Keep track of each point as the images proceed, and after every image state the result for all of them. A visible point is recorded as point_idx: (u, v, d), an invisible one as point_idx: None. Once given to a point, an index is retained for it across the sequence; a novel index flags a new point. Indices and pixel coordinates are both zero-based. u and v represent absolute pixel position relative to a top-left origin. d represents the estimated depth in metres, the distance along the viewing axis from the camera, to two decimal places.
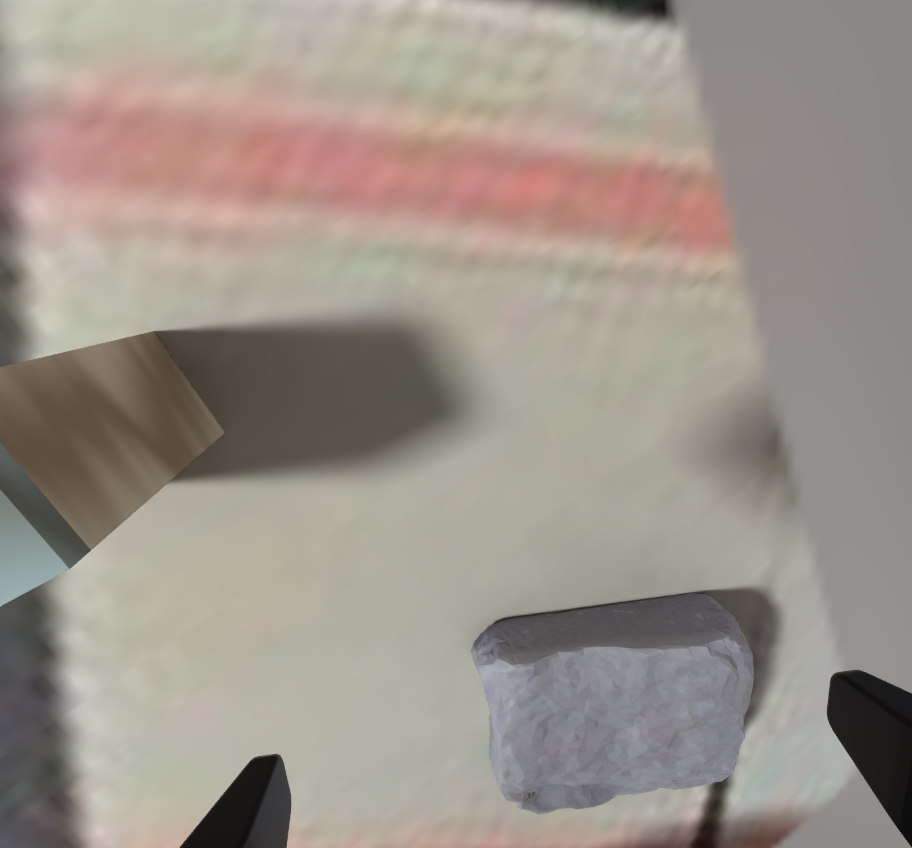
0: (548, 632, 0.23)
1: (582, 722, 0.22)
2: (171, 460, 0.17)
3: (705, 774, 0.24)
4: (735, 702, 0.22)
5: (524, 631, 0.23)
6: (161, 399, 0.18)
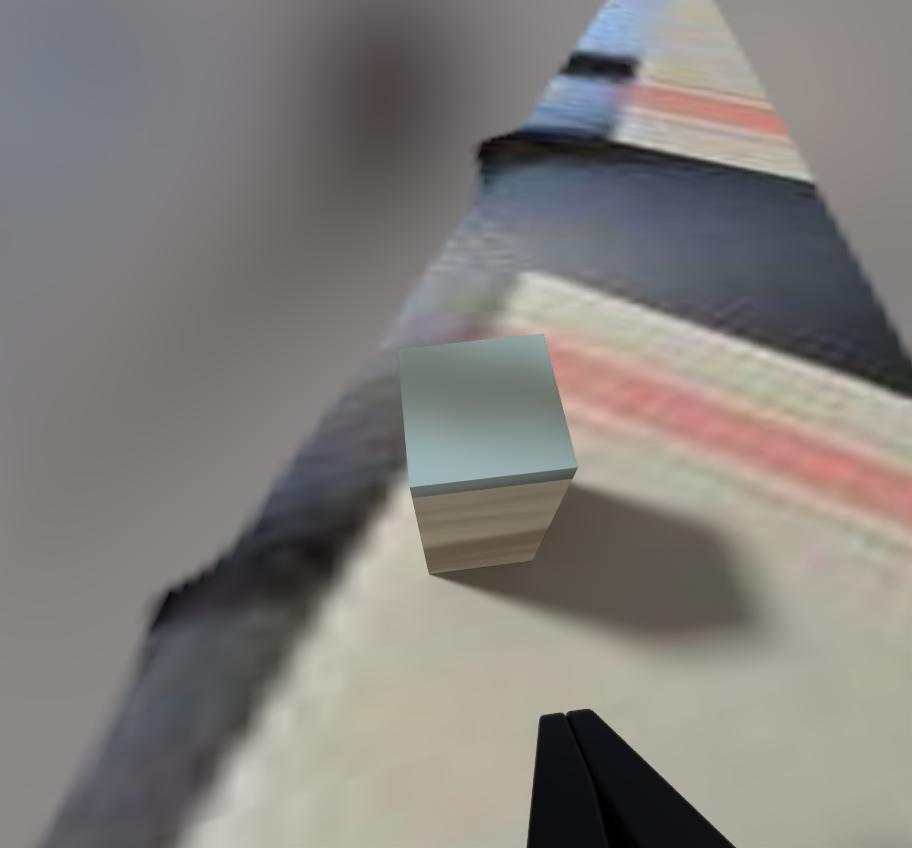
0: None
1: None
2: None
3: None
4: None
5: None
6: None
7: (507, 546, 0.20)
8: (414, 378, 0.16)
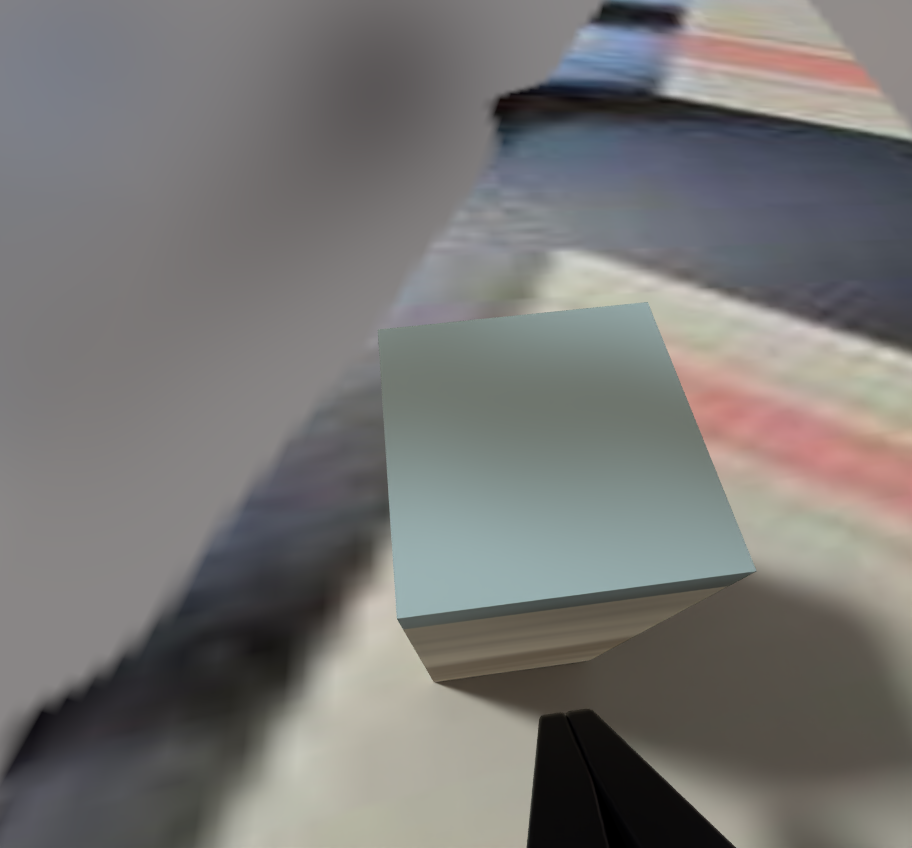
0: None
1: None
2: None
3: None
4: None
5: None
6: None
7: (560, 654, 0.13)
8: (409, 383, 0.08)
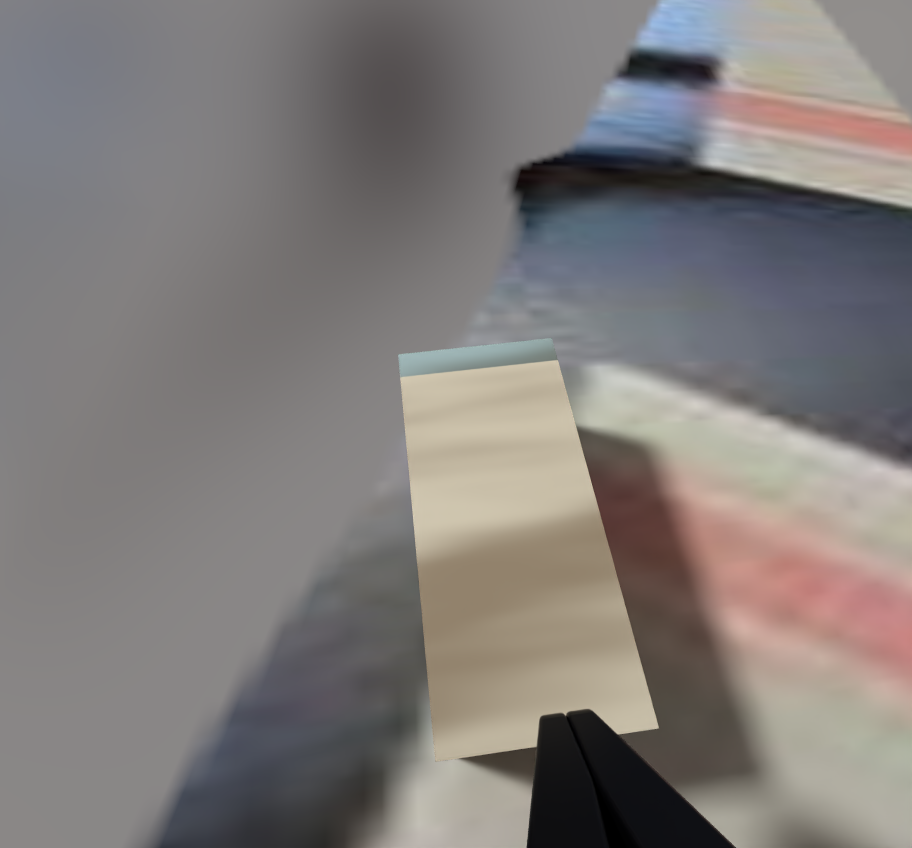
0: None
1: None
2: None
3: None
4: None
5: None
6: None
7: (561, 591, 0.12)
8: None
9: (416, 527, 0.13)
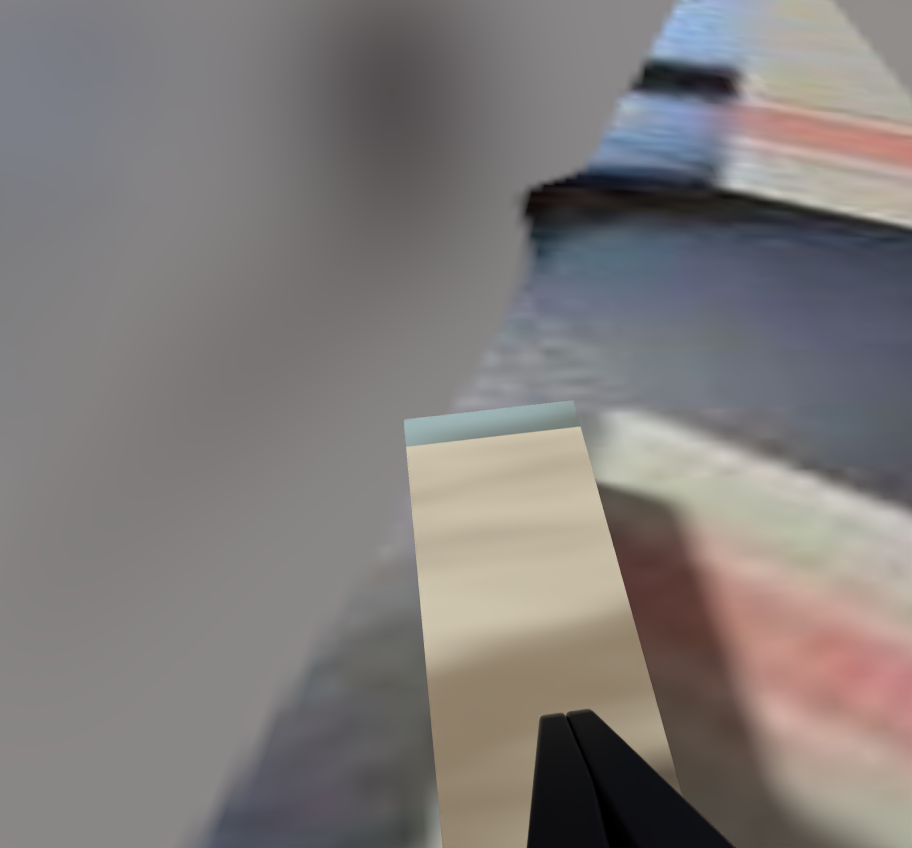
0: None
1: None
2: None
3: None
4: None
5: None
6: None
7: None
8: None
9: (425, 630, 0.11)
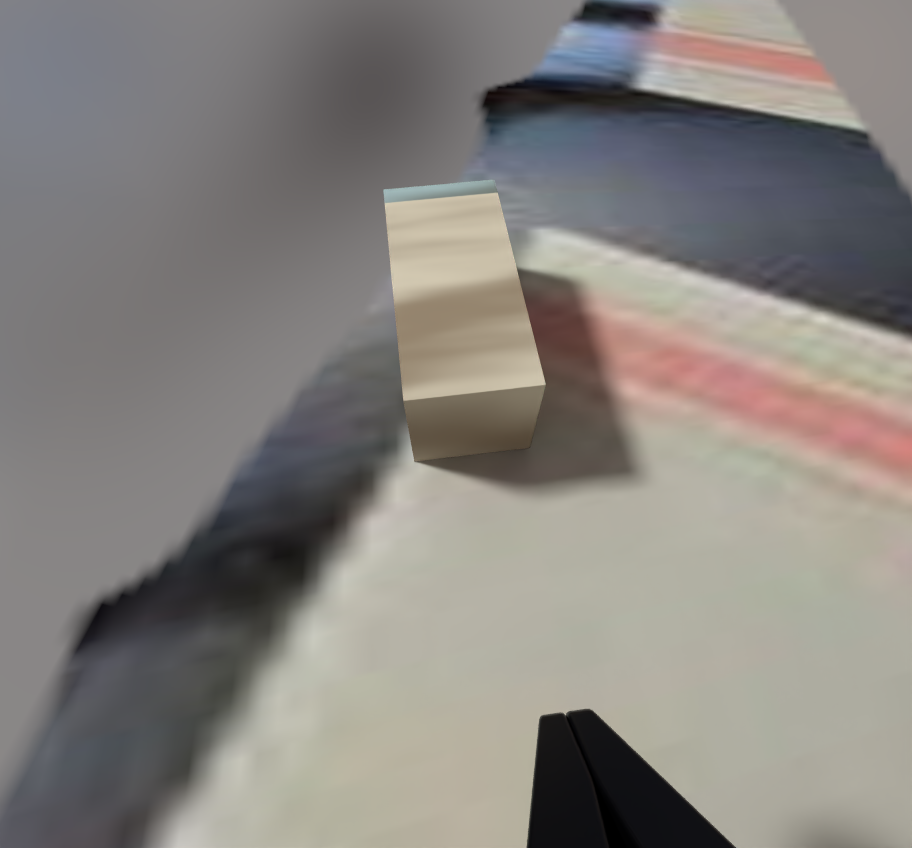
0: None
1: None
2: None
3: None
4: None
5: None
6: None
7: (489, 318, 0.18)
8: None
9: (394, 286, 0.19)
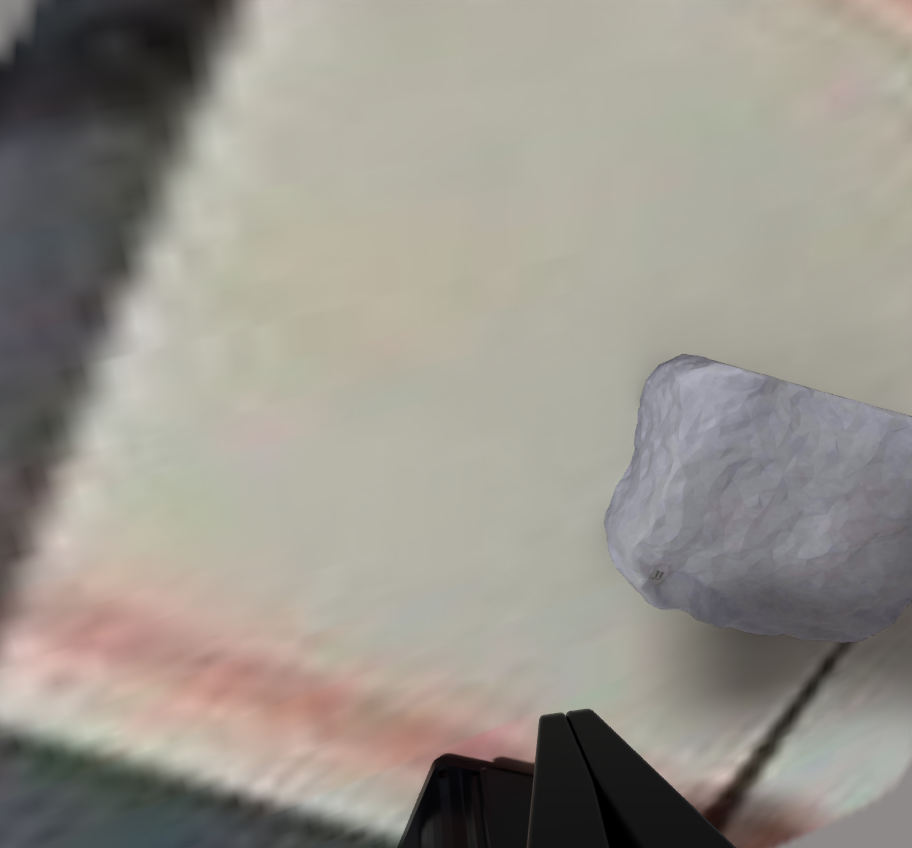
0: None
1: (774, 486, 0.18)
2: None
3: (858, 619, 0.20)
4: None
5: None
6: None
7: None
8: None
9: None
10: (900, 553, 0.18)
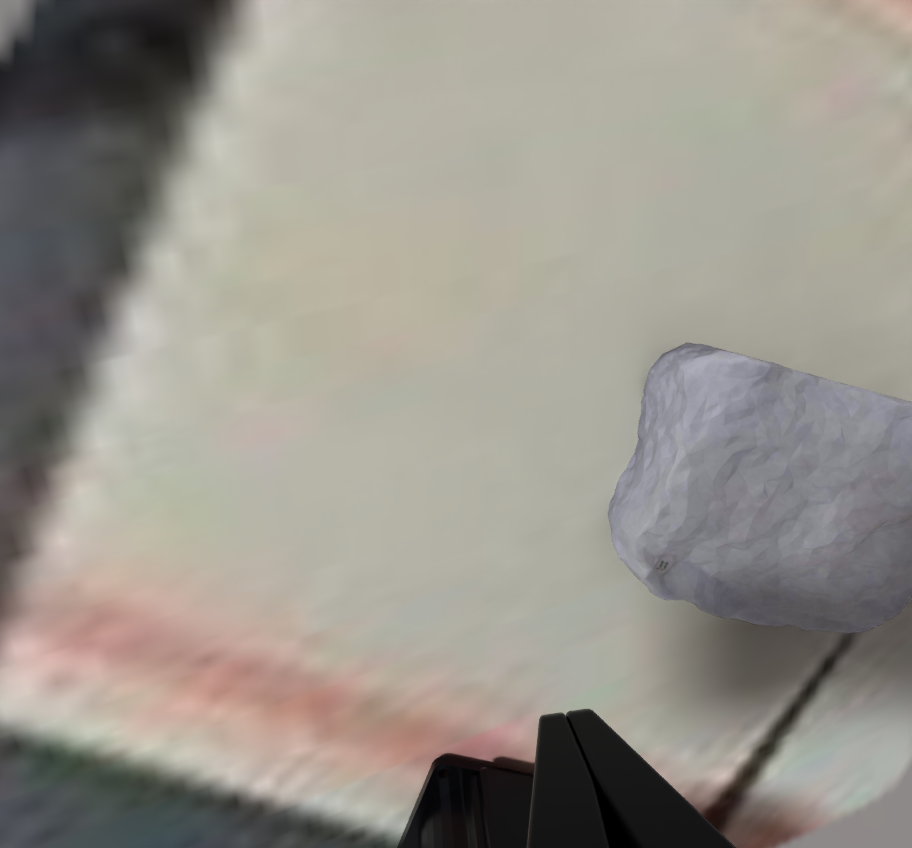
0: None
1: (780, 474, 0.18)
2: None
3: (864, 609, 0.20)
4: None
5: None
6: None
7: None
8: None
9: None
10: (906, 542, 0.18)
